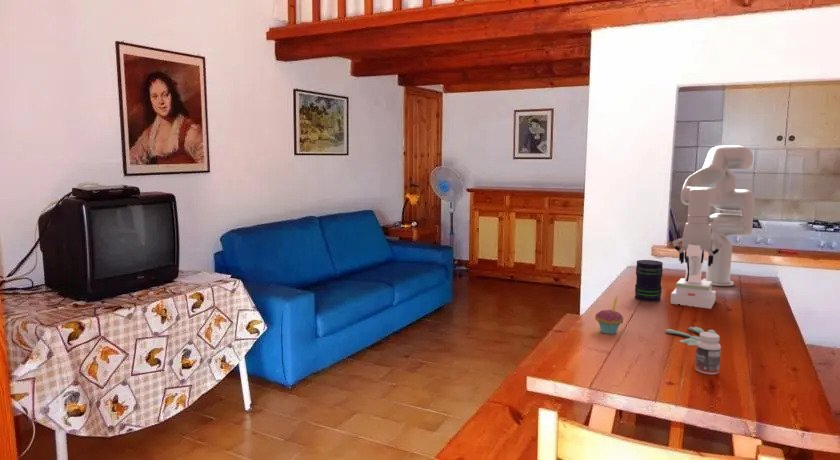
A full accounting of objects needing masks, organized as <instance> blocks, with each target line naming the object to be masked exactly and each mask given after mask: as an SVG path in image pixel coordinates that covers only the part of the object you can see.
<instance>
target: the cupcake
mask: <svg viewBox="0 0 840 460" xmlns="http://www.w3.org/2000/svg"><path fill="white" fill-rule="evenodd" d="M617 300H618V296H615V298H614V301H613V305H612V309H603V310H600V311H598V312H597V313H596V314H595V317H594V318H595V320H596V321H597V322H598V324H599V328H600V332H601V333H603V334H608V335H613V334H614V335H615V334H616V333H617V332H618V329H619V327H620V325H621V324H623V322H624V316H623V315H622V314H621V313H620V312H618V311H616V305H617V302H618V301H617Z"/></svg>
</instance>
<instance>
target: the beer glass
mask: <svg viewBox="0 0 840 460" xmlns="http://www.w3.org/2000/svg"><path fill="white" fill-rule="evenodd" d="M705 252H706V251H704V250H701V248H700V245H692V244H689V245H688V248H687V249H685V250H684V264H685V265H684V266H685V275H684V276H685V277H684V278H685V280H684V281H685V282H688V283H701V282H702V281H701V280H702V269H703V265H704V262H705V254H706V253H705Z"/></svg>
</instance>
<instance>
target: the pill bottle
mask: <svg viewBox="0 0 840 460" xmlns="http://www.w3.org/2000/svg"><path fill="white" fill-rule="evenodd" d="M717 334H718V333H717ZM717 334H715V333H710V332H708V331H704V332H701V333H700V335H699V334H698V335H699V336H698V337H699V338H700V341H698V342H697V346H696V351H695V364H694V366H695V367H694V369H695V370H696V371H697V372H699V373H702V374H705V375H711V376H712V375H717V374H719V373H720V369H721V368H720V367H721V355H722V353H721V352H722V346H721V344H720V343H719V342H720V340H721V339H720V335H719V334H718V335H717ZM719 339H720V340H719Z"/></svg>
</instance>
